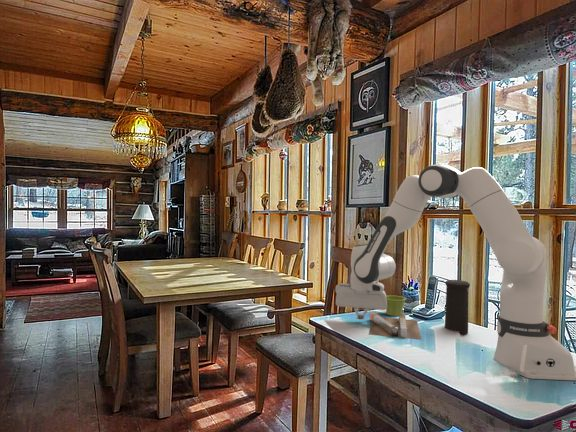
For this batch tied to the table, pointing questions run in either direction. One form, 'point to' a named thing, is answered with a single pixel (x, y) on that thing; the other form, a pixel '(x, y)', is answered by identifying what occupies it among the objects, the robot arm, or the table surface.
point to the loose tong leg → (384, 324)
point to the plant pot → (395, 305)
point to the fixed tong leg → (402, 326)
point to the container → (457, 306)
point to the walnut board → (410, 324)
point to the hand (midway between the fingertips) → (360, 318)
